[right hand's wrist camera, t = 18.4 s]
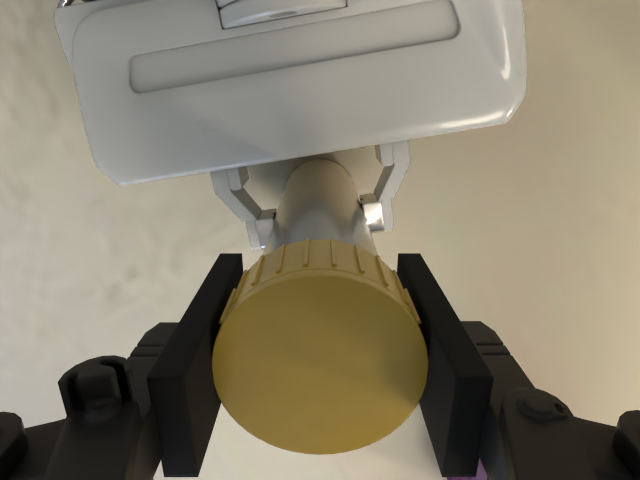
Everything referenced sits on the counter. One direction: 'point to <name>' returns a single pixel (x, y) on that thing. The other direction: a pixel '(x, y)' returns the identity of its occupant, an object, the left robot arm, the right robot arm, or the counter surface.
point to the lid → (320, 349)
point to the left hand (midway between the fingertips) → (323, 237)
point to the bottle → (320, 208)
